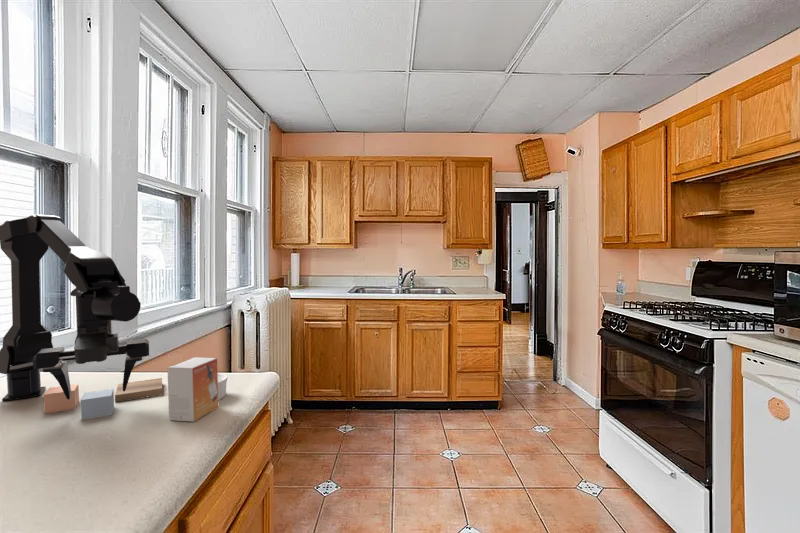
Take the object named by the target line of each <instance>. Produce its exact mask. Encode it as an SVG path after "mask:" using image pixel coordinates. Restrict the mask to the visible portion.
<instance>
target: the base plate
mask: <svg viewBox="0 0 800 533" xmlns="http://www.w3.org/2000/svg"><path fill="white" fill-rule="evenodd" d="M163 393H164V392H163V378H162V377H159V378H154V379H153V378H151V379H144V380H138V381H131V382H130V381H129V382H128V384H127V387H126V390H125V391H123V382H122V383H118V384H117V387H116V390H115V395H114V403H117V402H124V400H125V401H130V400H129V399H131V400H137V398H138V399H143V397H144V398H148V397H147V396H151V397H155V395H157V396H162V395H161V394H163Z"/></svg>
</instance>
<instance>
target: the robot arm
mask: <svg viewBox="0 0 800 533" xmlns="http://www.w3.org/2000/svg"><path fill="white" fill-rule="evenodd" d="M49 248H50V249H51V250H52V251H53V253H55V255H57V257H59V258H60V259H61V261H62V262H63V264H64V268H63V273H64V274H65V275H66V277H67V279H68V281H70V283H71V284H72V285H73V286H74V287H75V288H73V289H72V290H71V292H70V296H71V297H75V314H76V337H75V340H74V348H73V350H65V347H64V346H61V347H59V346H58V347H54V345H53V342H52V340H53V334H52V332H51V331H50V330H47V329H46V328H45V327H44V326H43V324H42V317H41V314H42V312H41V277H40V276H41V274H40V273H41V271H40V270H41V268H40V264H41V263H40V262H41V260H42V258H43V257H44V256H45V254H46V253H47V252H48V250H49ZM0 249H1V251H2V252H3V253H4V254H5V255H6V256H7V258H8V259H9V260H10V269H11V270H10V272H11V274H10V276H11V277H10V278H11V314H12V316H11V318H12V324H11V327H10V328H9V329H8V330H7V332H6V333H5V335H4V336H3V338H2V347H1V349H0V374H3V375H6V382H7V383H6V384H7V394H5V395H4V397H2V398H1V401H2V402H5V401H6V402H7V401H13V400H22V399H27V398H35V397H39V396H41V395H42V394H43V393H44V392H45V390H46V386H42V384H41V369H42V373H49V374H51V375H52V376H53V377H54V378H55V379H56V381H57V382H58V384H59V386H61V388H62V390H63V392H64V394H65V396H66V398H67V399H70V398H71V387H70V385H71V382H70V375H69V374H70V373H69V367H68V366H69V365H68V362H67V361H72V360H73V361H74V360H75V363H76V364H78V365H84V364H86V363H91V362H97V363H100V362H101V363H102V362H103V361H106V360H107V358H108V357H111V356H118V355H119V356H121V355H126V356H125V360H124V361H125V362H124V369H123V370H124V372H123V377H122V378H123V379H122V383H123V391H125V390H126V387H127V384H128V383H129V380H130V377H131V374H132V371H133V369H134V367H135V365H136V363H137V362H141V361H142V360H143V357H144V358H145V357H148V356H150V341H149V340H148V339H147V338H140V339H139V338H138V339H133V340H132V339H130V340H127V342H126V344H122V345H120V343H119V342H120V341H119V334H118V333H113V330H112V329H113V326H112V325H113V324H112V323H113V322H112V321H114V322H130V321H132V320H134V319H135V318H136V317H137V316H138V315H139V313H140V311H141V306H142V305H141V304H142V303H141V301H140V299H139V297H138V296H137V295H136V294H135V293H133V292H131V288H130V285H127V284H126V280H125V278H124V277H123V276H122V274H121V272H120V271H119V268H118V267H117V265H116V263H115V261H114V260H113V258H112V257H110V256H109V255H107V254H105V253H104V252H103V251H102V252H101V251H99V250H96V249H92V248H90V247H88V246H87V245H86V244H85V243H84V242H83V241H82V240H81V239H80V238H79V237H78V236H77V235H75V234H74V232H72V231H71V229H70V228H68V227H67V225H65V224H64V222H63V220H62V218H61V217H60V216H57V215H49V214H34V215H30V216H26V217H25V218H23V217H22V218H19V219H12V220H6V221H4V222H3V223H1V224H0Z"/></svg>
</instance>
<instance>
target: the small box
mask: <svg viewBox="0 0 800 533" xmlns="http://www.w3.org/2000/svg"><path fill="white" fill-rule="evenodd" d="M217 373H218V358H217V357H216V358H215V357H196V356H195V357H191V358H189V359H188V360H185V361H183V362H179V363H177V364H173V365H172V366H171V365H170V366H167V394H168V419H169V421H179V422H196V421H197V420H199V419H200V418H202V417H204V416H205V415H207V414H209V413H211V412H213V411H215V410H217V409H219V400H218V374H219V373H218V374H217Z"/></svg>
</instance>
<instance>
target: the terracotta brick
mask: <svg viewBox="0 0 800 533" xmlns="http://www.w3.org/2000/svg"><path fill="white" fill-rule="evenodd" d="M70 387H71V398H70V399H67V398H66V396H65V394H64V392H63V390H62V388H61V386H60V385H59V386H53V387H49V388H47V390H46V391H45V393H44V394H43V404H44V405H43V409H44V414H49V413H57V412H61V411H62V412H63V411H68V410H69V411H70V410H75V409H76V408H77V406H78V405H79V402H80V389H79V383H75V384H70Z"/></svg>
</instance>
